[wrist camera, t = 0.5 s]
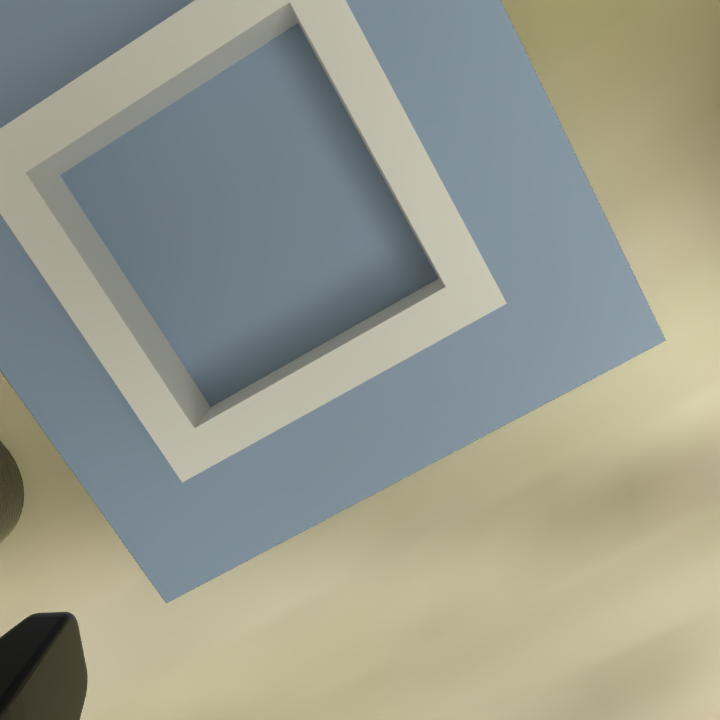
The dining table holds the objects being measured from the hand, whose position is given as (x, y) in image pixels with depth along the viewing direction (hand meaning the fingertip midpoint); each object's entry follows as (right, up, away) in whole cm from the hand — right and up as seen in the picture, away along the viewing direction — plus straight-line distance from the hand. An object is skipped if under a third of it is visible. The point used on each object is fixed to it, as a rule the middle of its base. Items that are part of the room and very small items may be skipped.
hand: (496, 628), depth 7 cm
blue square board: (-5, +7, +13) cm, 16 cm away
